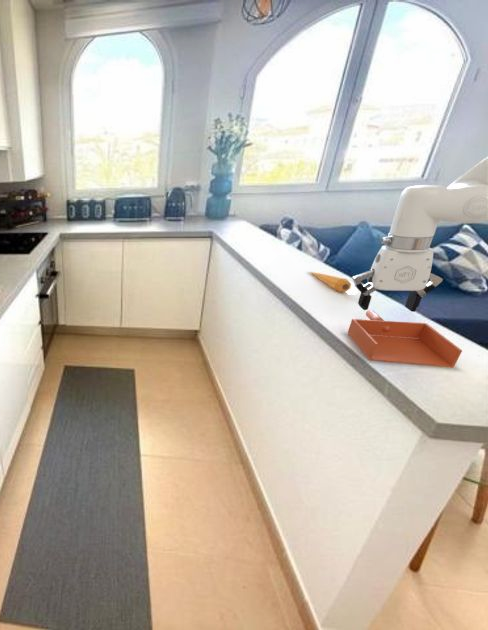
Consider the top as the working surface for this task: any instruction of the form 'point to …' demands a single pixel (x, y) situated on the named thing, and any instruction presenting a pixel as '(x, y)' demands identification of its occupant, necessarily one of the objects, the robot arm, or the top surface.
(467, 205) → the robot arm
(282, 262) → the top surface
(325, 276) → the carrot
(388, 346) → the dustpan
